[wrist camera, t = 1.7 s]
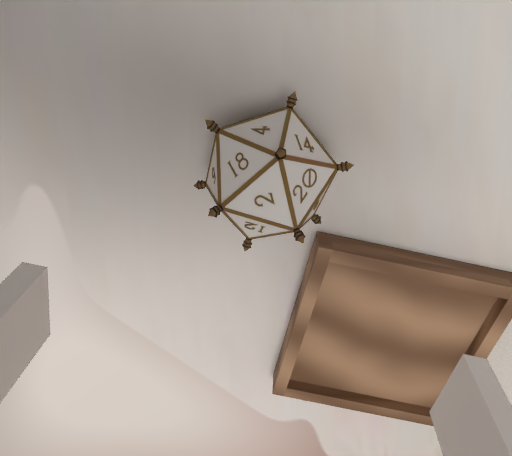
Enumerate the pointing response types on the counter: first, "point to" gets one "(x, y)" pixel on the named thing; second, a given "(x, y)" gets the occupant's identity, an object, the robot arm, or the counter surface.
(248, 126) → the game die
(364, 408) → the walnut tray
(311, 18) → the counter surface
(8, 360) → the robot arm
